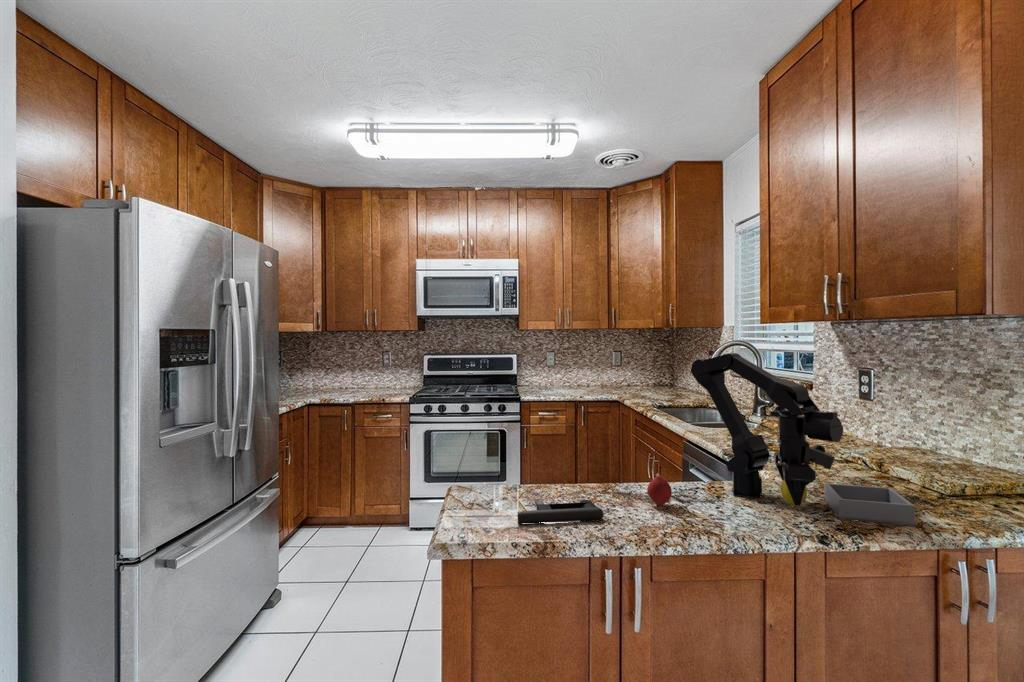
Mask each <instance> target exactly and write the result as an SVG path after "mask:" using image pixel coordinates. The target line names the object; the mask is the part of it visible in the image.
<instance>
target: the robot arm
mask: <svg viewBox="0 0 1024 682" xmlns="http://www.w3.org/2000/svg"><path fill="white" fill-rule="evenodd" d="M727 371H732V372H734V373H735V374H736V375H738V376H740V377H742V378H743V379H745V380H746V381H748V382H749V383H751V384H752V385H754V386H756V387H757V388H759V389H761V390H762V391H764V392H765V394H766V396H767V397H768V398H769V399H770V401H772V402H773V403H774V404H775V405H777V406H776V407H775V408H774V409H773V410H772V411H771V412H770V413H769V415H770V416H772V417H778V437H777V442H778V443H779V445H778V446H779V448H778V449H779V450H776V451H775V452H774V453H773V461H774V465H775V467H776V470H777V471H778V474H779V477H780V478H781V480H782V481H783V480H785V483H786V485H787V487H788V490H789V492H790V495H791V497H792V500H793V502H794V504H795V505H796V507H798V506H800V507H801V505H802V504H801V501H802V497H803V493H804V490H805V487H806V488H807V486H808V485H809V484H810V483H811V484H812V483H813V482H815V481H816V479H817V477H816V476H817V475H816V474H817V473H816V472H817V471H815V470H814V468H813V467H812V466H811V463H812V464H815V465H818V466H821V467H823V468H824V469H827V470H828V471H829V470H831V468H832V467H833V463H834V462H835V459H836V457H835V456H834V455H832V454H831V453H829V452H828V451H827V452H826V449H825V447H824V446H823V445H821V444H818V443H816V444H814V446H811V445H810V443H809V442H808V441H807V437H808V438H809V439H812V440H818V441H825V442H832V443H839V442H840V441H842V440H841V439H842V438H843V435H844V434H843V433H844V425H843V423H842V421H841V419H840V418H839V417H838V412H837V411H821V410H820V408H819V407H818V406H817V405H816V403H815V402H814V401H813V399H812V398H811V396H810V393H809V390H808V388H807V387H805V386H804V385H802V384H800V383H797V382H795V381H792V380H789V379H785V378H781V377H778V376H775V375H773V374H772V373H770V372H769V371H767V370H765V369H763V368H761V367H760V366H758V365H756V364H754V362H753V363H752V361H749V360H748V359H746V358H745V357H742V356H741V355H740V354H739V353H737V352H733V353H732V352H731V353H729V352H728V353H726V352H725V353H724V354H722V355H718V356H716V357H715V356H714V357H710V358H699V359H695V360H694V361H693V362H692V363H691V367H690V373H691V375H692V377H693V378H694V379H695V380H696V382H697V384H699V386H701V387H702V388H703V389H705V390H706V391H707V393H708V394H709V397H710V398H711V400H712V402H713V404H714V406H715V408H716V409H717V411H718V413H719V416H720V417H721V419H722V421H723V423H724V425H725V427H726V429H727V431H728V433H729V435H730V437H731V450H732V454H733V456H732V457H731V458H730V459H729V460H728V461H727V462H726V463H725V465H726V469H727V471H728V472H731V473H732V488H731V489H732V495H733V496H735V497H745V498H746V497H747V498H757V499H760V498H761V497H762V494H763V481H762V480H763V479H762V476H761V475H760V472H759V471H763V470H764V468H765V466H766V464H767V463H768V461H769V459H770V457H771V455H770V452H769V449H770V446H768V445H767V443H766V442H765V439H764V436H762V434H754V433H753V432H751V430H750V429H749V427H748V425H747V423H746V421H745V419H744V418H743V415H742V414H741V412H740V410H739V408H738V406H737V404H736V403H735V401H734V399H733V397H732V395H731V394H730V392H729V390H728V388H727V386H726V380H725V378H726V377H725V376H726V375H725V372H727Z"/></svg>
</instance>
